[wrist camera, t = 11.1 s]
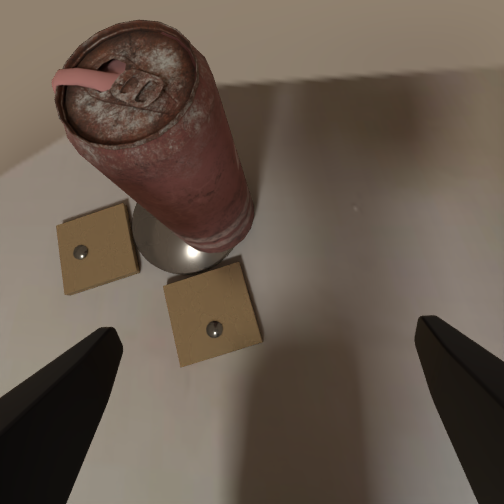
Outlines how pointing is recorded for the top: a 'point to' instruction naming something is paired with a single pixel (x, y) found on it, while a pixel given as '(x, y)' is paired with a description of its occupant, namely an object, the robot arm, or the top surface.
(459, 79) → the top surface
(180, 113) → the can
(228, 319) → the flat squares and disc
